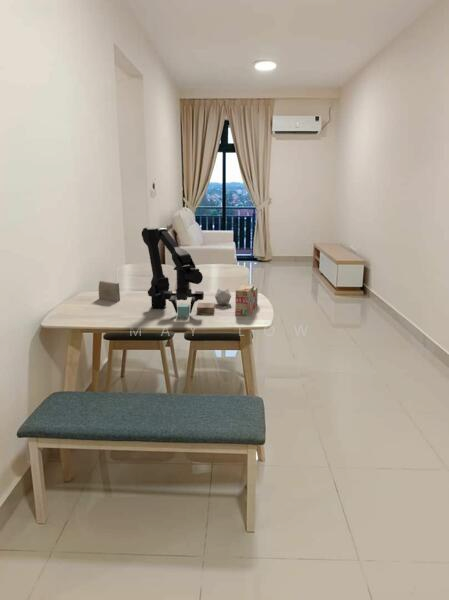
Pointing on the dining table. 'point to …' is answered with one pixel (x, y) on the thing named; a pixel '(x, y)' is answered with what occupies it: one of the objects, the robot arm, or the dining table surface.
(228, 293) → the die
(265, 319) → the dining table surface
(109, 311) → the dining table surface
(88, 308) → the dining table surface
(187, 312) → the teal cube
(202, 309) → the walnut base
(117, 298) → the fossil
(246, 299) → the printed cardboard box
